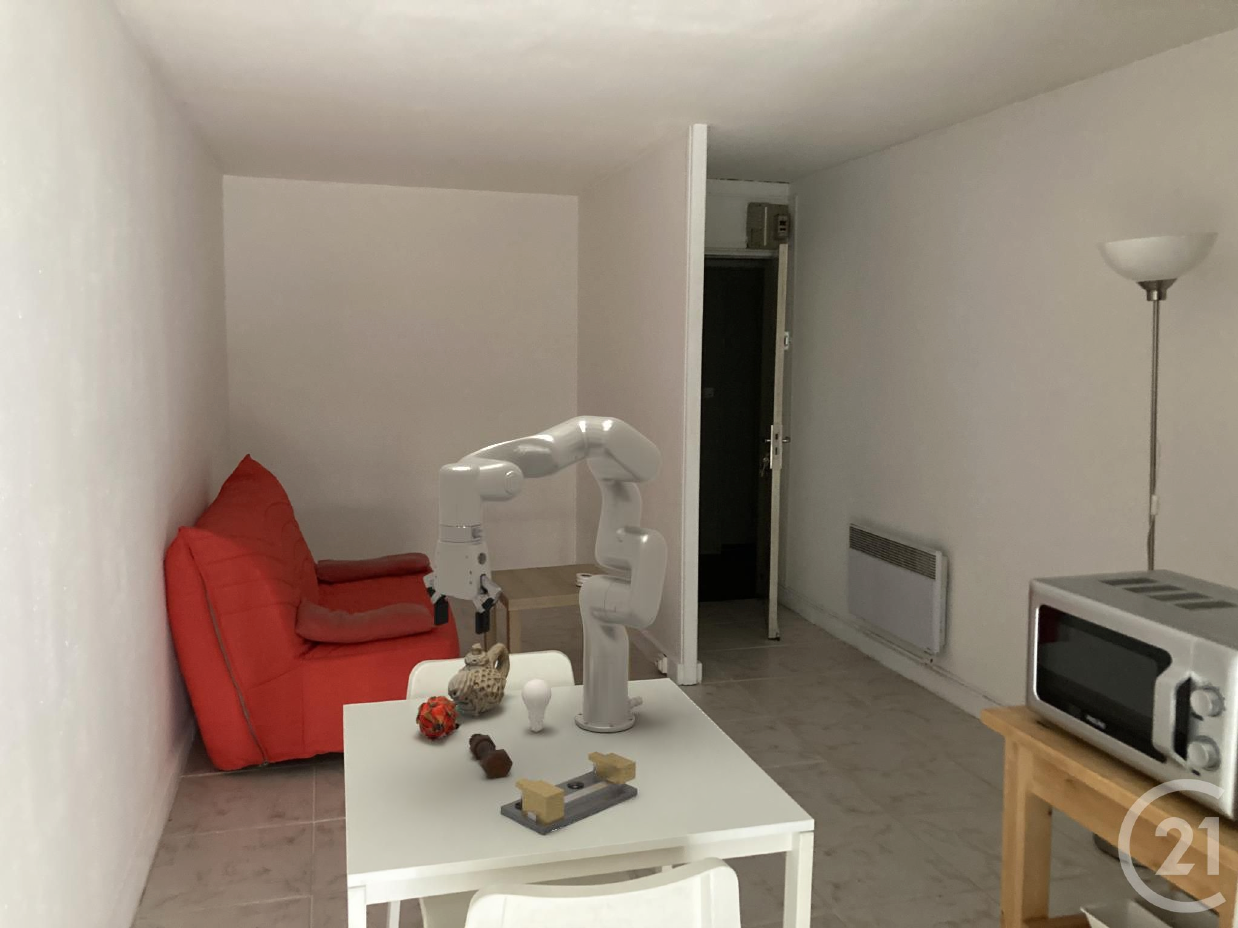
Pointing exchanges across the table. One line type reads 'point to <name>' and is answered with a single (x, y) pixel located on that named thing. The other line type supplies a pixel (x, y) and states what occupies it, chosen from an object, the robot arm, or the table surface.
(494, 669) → the teapot
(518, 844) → the table surface
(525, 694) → the lightbulb
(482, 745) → the bolt
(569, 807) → the hole plate
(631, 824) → the table surface
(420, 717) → the dragon fruit
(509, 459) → the robot arm
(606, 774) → the block
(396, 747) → the table surface
